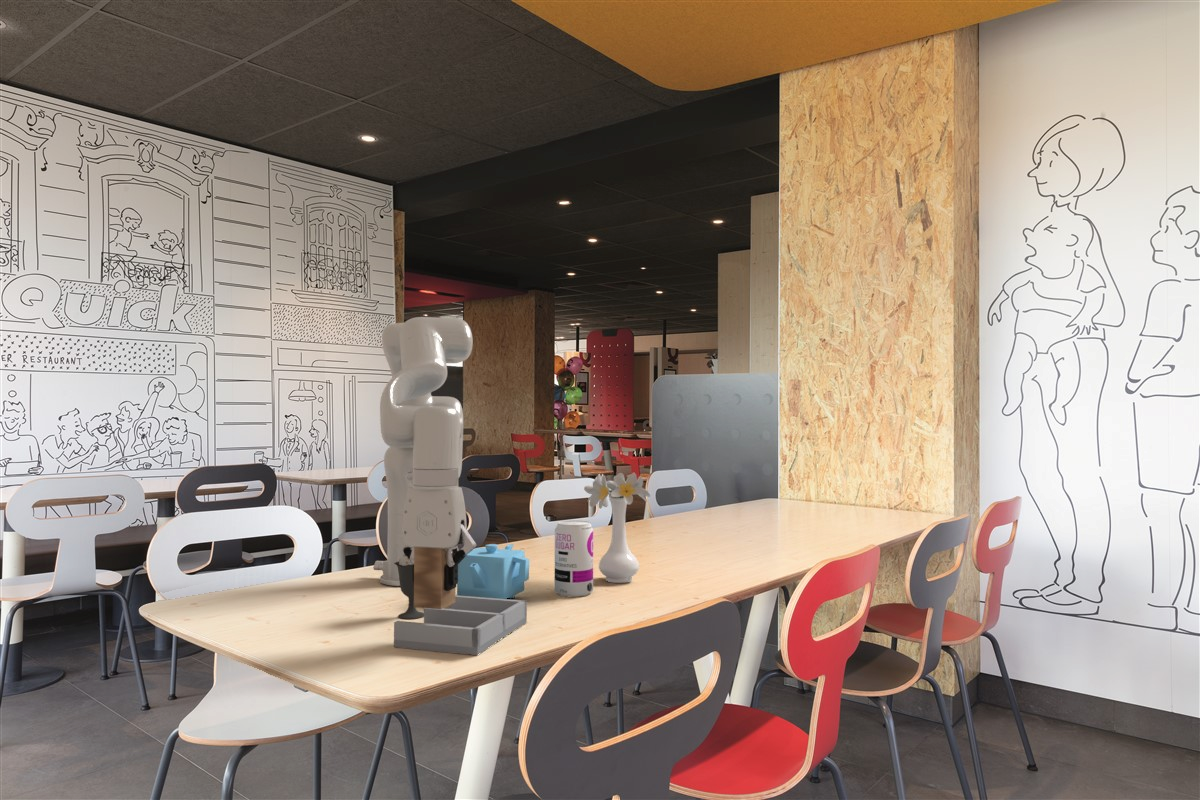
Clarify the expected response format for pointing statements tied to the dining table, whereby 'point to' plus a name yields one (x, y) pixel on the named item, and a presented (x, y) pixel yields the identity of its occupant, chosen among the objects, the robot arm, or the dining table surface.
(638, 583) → the dining table surface
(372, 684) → the dining table surface
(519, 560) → the teapot
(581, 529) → the soda can
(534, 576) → the dining table surface
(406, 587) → the sundae
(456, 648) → the grey divided tray
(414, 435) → the robot arm
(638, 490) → the flower vase
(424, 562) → the walnut block
